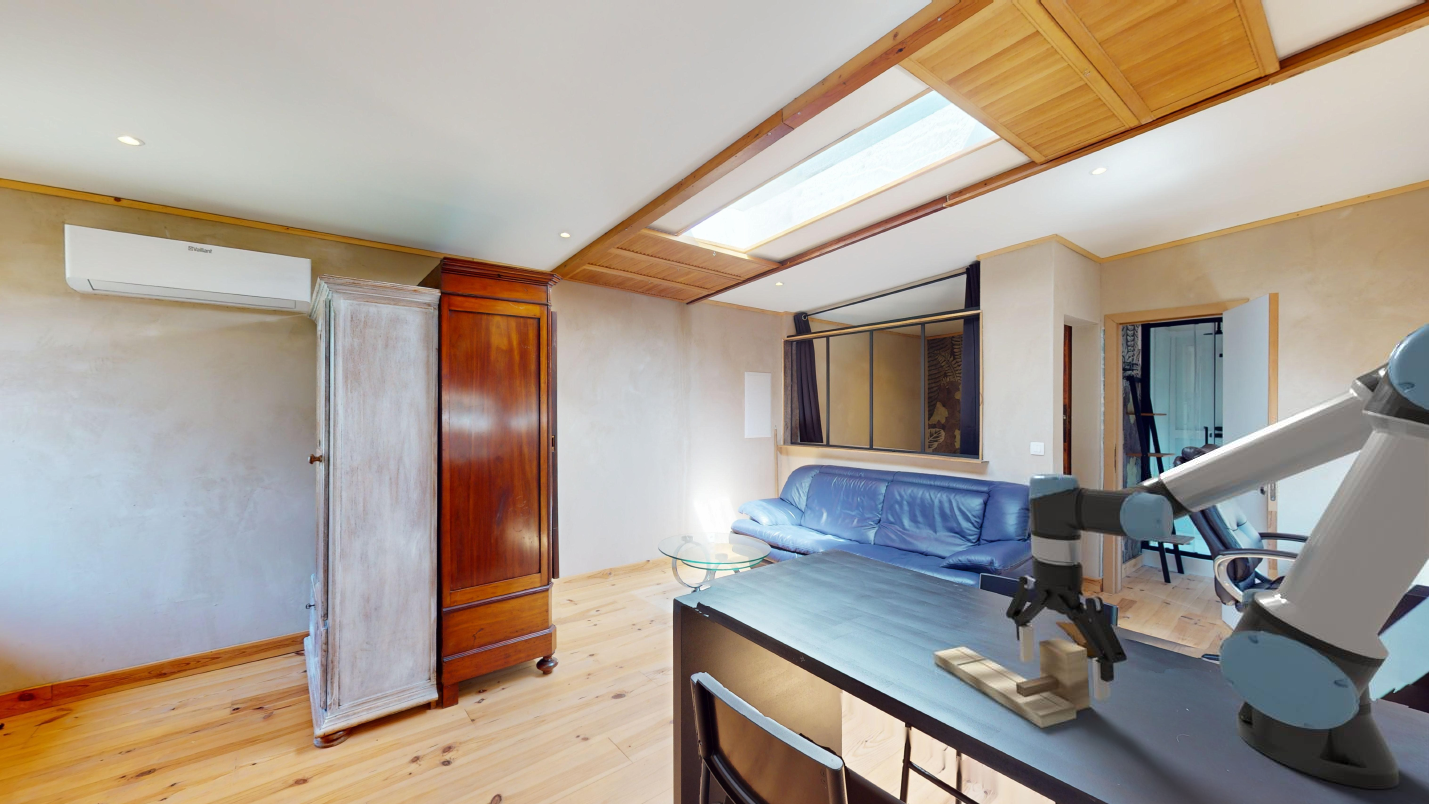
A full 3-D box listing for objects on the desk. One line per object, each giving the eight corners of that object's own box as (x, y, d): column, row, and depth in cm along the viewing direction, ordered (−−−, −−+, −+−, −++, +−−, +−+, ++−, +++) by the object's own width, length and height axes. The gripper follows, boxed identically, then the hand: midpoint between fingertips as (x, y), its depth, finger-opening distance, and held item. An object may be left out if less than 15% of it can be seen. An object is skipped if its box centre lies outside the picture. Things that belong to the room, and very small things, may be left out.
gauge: (1090, 706, 85) (1086, 648, 86) (1035, 722, 81) (1031, 661, 82) (1062, 692, 90) (1058, 637, 90) (1009, 706, 86) (1005, 648, 86)
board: (1076, 717, 82) (1075, 705, 82) (1041, 727, 80) (1040, 715, 80) (964, 655, 105) (963, 646, 105) (934, 662, 102) (933, 652, 103)
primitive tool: (1054, 623, 121) (1054, 609, 121) (1081, 626, 119) (1080, 612, 120) (1082, 658, 103) (1081, 641, 103) (1114, 662, 101) (1113, 645, 102)
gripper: (1149, 577, 77) (1157, 712, 77) (1011, 541, 101) (1015, 644, 100) (1117, 582, 75) (1124, 722, 74) (983, 545, 99) (987, 650, 98)
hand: (1062, 678), depth 87 cm, fingers open, 13 cm apart
